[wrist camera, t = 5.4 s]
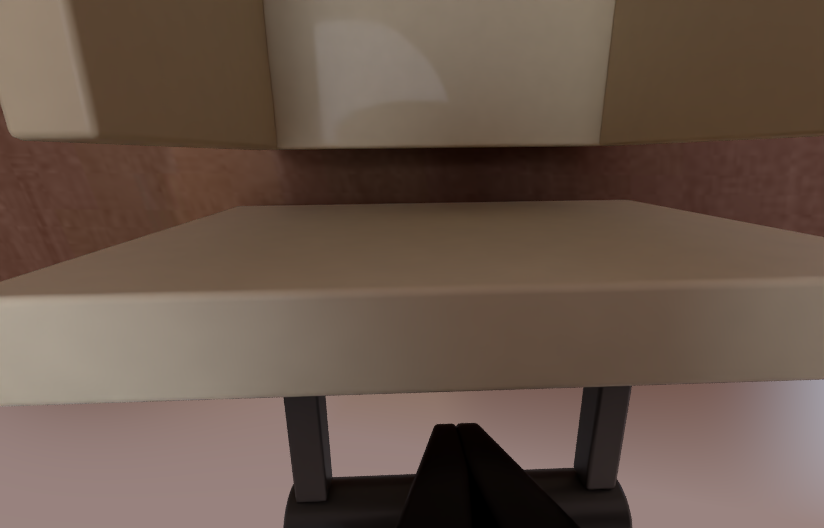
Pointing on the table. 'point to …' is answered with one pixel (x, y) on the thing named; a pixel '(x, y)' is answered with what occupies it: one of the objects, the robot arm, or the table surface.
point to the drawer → (416, 216)
